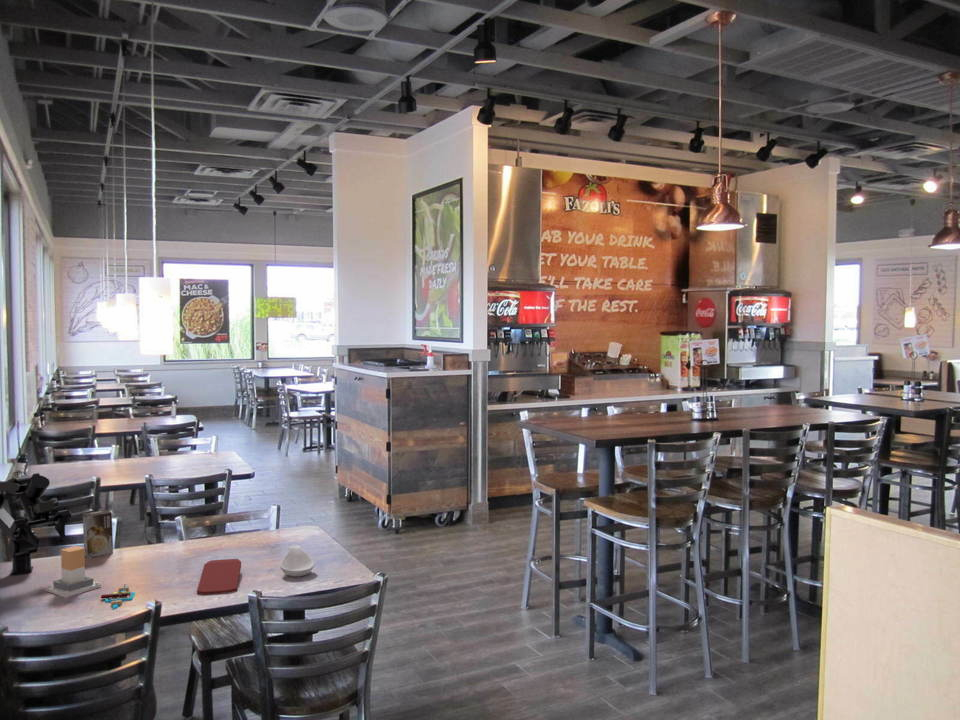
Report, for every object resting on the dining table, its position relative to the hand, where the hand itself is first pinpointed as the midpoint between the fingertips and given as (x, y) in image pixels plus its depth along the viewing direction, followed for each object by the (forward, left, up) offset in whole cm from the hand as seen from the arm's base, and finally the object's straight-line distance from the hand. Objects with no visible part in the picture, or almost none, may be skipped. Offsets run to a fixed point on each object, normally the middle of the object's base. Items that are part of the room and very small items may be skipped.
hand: (50, 542), depth 253 cm
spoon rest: (+23, +79, -14) cm, 83 cm away
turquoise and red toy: (+28, +20, -14) cm, 37 cm away
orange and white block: (+12, +7, -13) cm, 19 cm away
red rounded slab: (+25, +52, -14) cm, 60 cm away
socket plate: (+12, +7, -14) cm, 19 cm away
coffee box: (-28, +14, -14) cm, 34 cm away
